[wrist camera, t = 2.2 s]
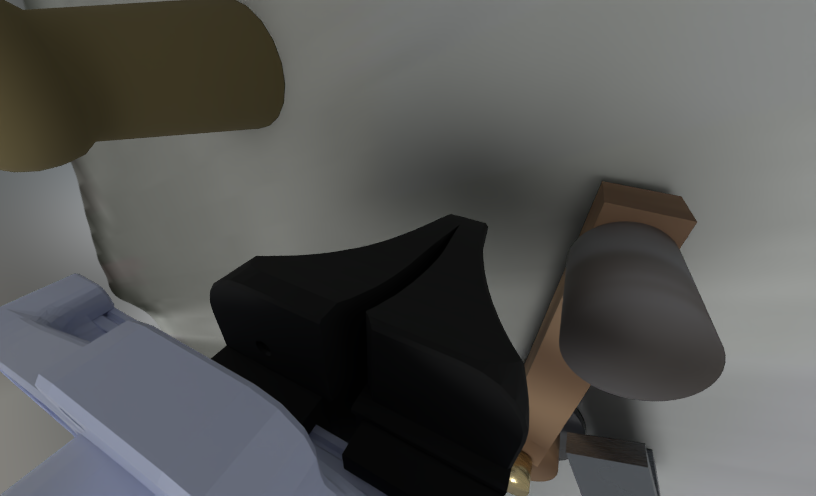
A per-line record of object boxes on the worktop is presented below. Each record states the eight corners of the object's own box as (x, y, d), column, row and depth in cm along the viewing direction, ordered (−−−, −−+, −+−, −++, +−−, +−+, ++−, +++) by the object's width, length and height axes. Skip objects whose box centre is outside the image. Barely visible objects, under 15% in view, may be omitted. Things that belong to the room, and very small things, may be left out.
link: (547, 458, 20) (536, 576, 16) (480, 426, 22) (453, 526, 17) (718, 203, 10) (821, 330, 6) (572, 175, 12) (562, 258, 7)
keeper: (594, 453, 20) (595, 533, 16) (569, 378, 17) (566, 452, 14) (655, 464, 18) (670, 555, 15) (635, 382, 16) (648, 467, 13)
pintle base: (470, 425, 24) (451, 487, 20) (470, 361, 20) (447, 423, 17) (575, 464, 21) (572, 544, 17) (595, 397, 17) (597, 482, 14)
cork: (295, 43, 15) (-83, 42, 6) (274, 149, 19) (21, 234, 10) (198, -31, 15) (-285, -124, 7) (196, 89, 19) (-109, 123, 11)
